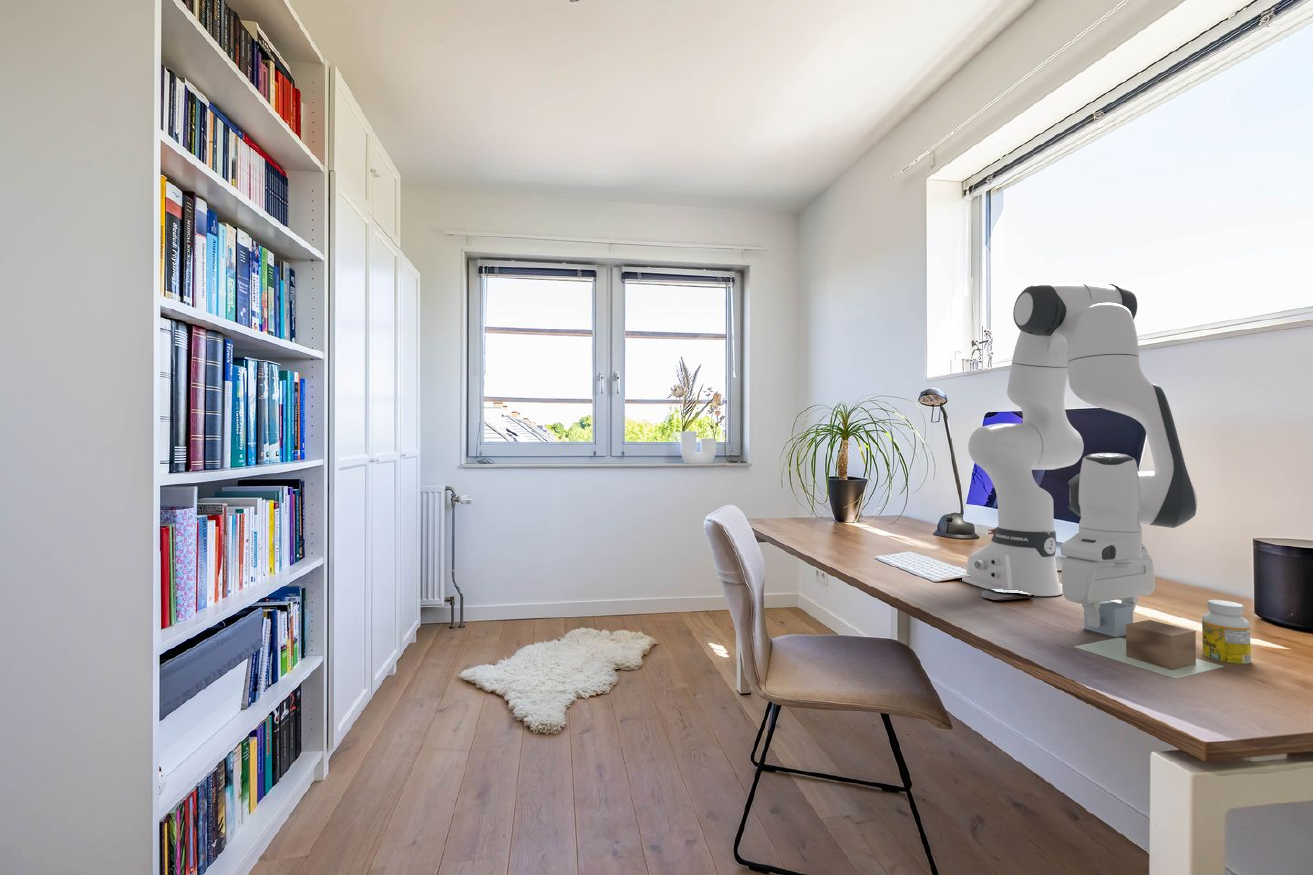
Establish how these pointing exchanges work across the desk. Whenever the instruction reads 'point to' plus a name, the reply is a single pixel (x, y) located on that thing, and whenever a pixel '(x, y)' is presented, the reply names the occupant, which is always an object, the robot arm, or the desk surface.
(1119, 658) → the plate
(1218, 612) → the supplement bottle
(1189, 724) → the desk surface
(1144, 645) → the walnut block
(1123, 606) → the slate brick
